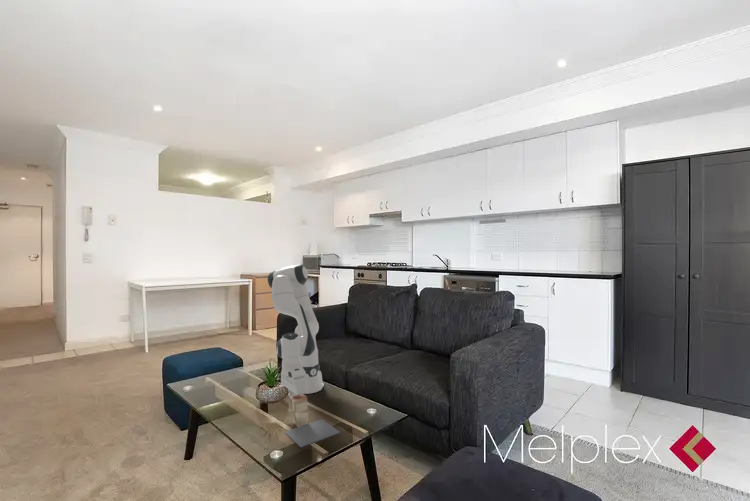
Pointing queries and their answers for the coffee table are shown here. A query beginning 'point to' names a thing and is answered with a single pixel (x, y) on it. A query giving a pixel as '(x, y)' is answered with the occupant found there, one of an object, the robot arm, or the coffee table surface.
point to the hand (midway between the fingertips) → (292, 399)
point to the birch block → (300, 410)
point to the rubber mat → (311, 433)
